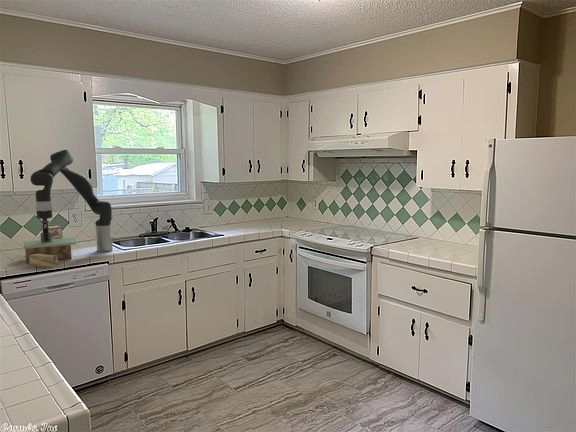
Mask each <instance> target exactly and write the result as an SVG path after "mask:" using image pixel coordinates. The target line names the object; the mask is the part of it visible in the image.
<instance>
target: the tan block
mask: <svg viewBox="0 0 576 432" xmlns="http://www.w3.org/2000/svg"><path fill="white" fill-rule="evenodd" d="M29 260H30V263H29V265H30V266H35V267H36V266H37V267H38V266H39V267H49V268H50V267H52V268H53V267H57V266H59V260H58V257H57V255H44V254H32V255H29Z"/></svg>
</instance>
